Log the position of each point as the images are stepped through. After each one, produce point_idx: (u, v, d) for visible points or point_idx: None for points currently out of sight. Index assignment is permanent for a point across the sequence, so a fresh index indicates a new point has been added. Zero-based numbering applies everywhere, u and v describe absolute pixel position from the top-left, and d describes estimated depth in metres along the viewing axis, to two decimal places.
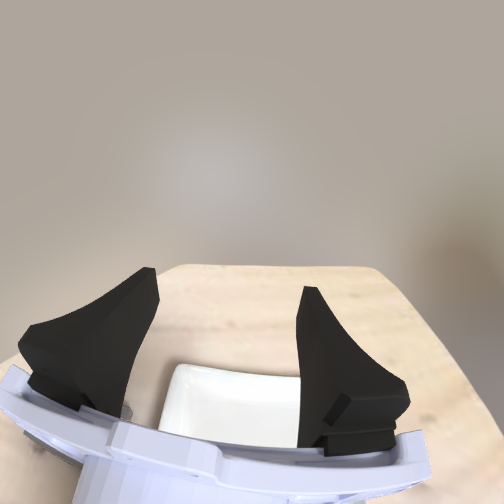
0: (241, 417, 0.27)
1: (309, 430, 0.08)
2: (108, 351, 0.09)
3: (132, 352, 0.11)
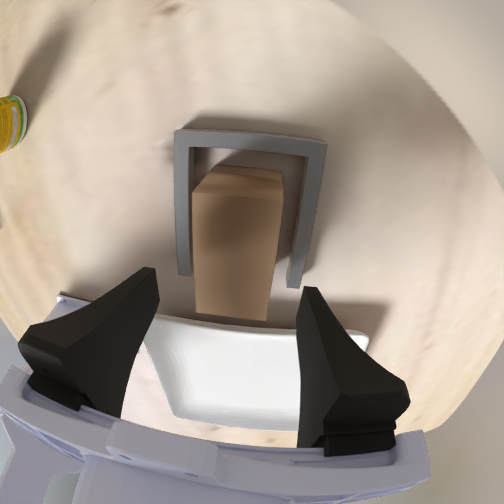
0: None
1: (309, 430, 0.08)
2: (108, 351, 0.09)
3: (132, 351, 0.11)
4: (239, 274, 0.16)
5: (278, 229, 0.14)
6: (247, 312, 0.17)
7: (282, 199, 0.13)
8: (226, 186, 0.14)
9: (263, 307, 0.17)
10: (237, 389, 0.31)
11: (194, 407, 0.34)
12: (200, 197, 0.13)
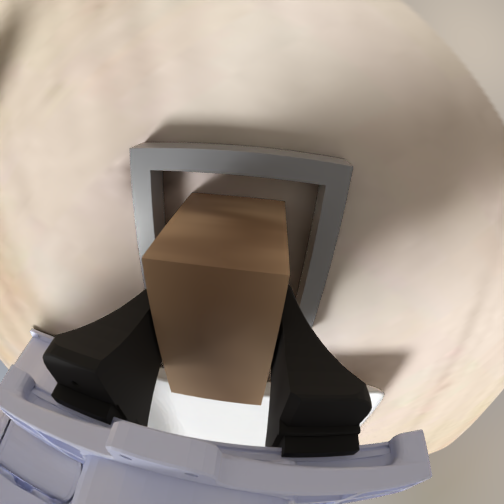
0: None
1: (272, 429, 0.08)
2: (139, 359, 0.09)
3: (159, 358, 0.11)
4: (223, 362, 0.10)
5: (279, 314, 0.09)
6: (236, 397, 0.12)
7: (287, 271, 0.08)
8: (199, 241, 0.09)
9: (257, 394, 0.12)
10: (232, 431, 0.26)
11: None
12: (154, 265, 0.08)
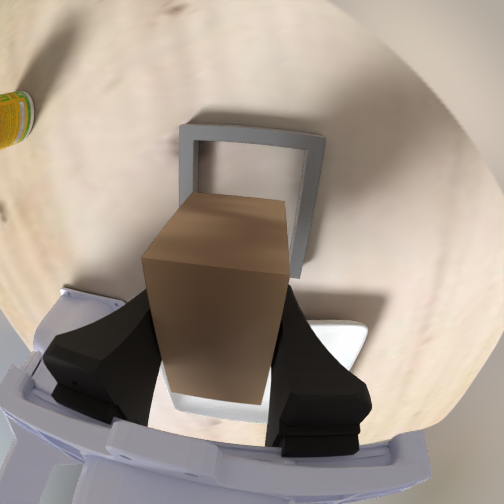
0: None
1: (272, 429, 0.08)
2: (139, 359, 0.09)
3: (159, 357, 0.11)
4: (223, 361, 0.10)
5: (279, 313, 0.09)
6: (236, 397, 0.12)
7: (287, 270, 0.08)
8: (198, 240, 0.09)
9: (257, 394, 0.12)
10: None
11: (195, 400, 0.35)
12: (154, 265, 0.08)
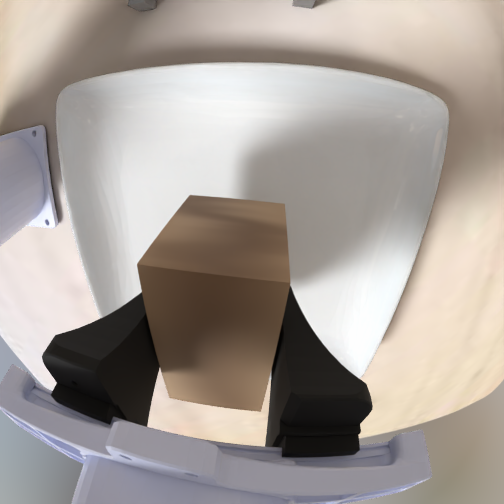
0: (331, 220, 0.16)
1: (272, 429, 0.08)
2: (138, 359, 0.09)
3: None
4: (222, 369, 0.10)
5: (279, 321, 0.08)
6: (235, 403, 0.12)
7: (288, 278, 0.08)
8: (196, 246, 0.09)
9: (257, 400, 0.11)
10: None
11: None
12: (150, 272, 0.08)
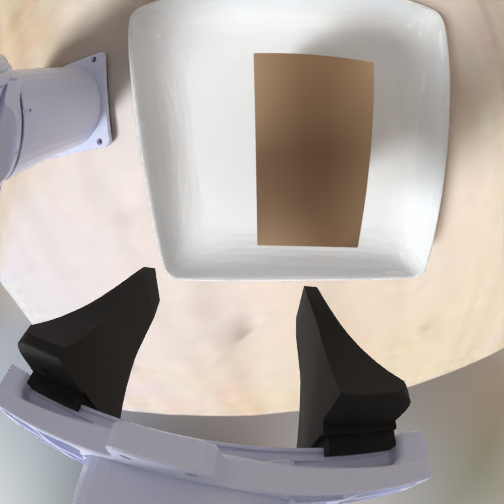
0: (375, 105, 0.16)
1: (309, 430, 0.08)
2: (108, 351, 0.09)
3: (132, 351, 0.11)
4: (323, 169, 0.10)
5: (371, 99, 0.09)
6: (333, 235, 0.12)
7: (370, 62, 0.08)
8: None
9: (355, 224, 0.11)
10: None
11: (203, 251, 0.22)
12: (265, 58, 0.08)
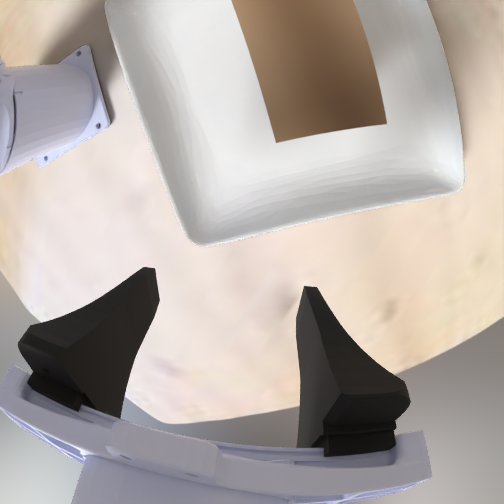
0: None
1: (309, 430, 0.08)
2: (108, 351, 0.09)
3: (132, 351, 0.11)
4: (321, 45, 0.08)
5: None
6: (356, 113, 0.09)
7: None
8: None
9: (375, 96, 0.08)
10: None
11: (225, 210, 0.20)
12: None
